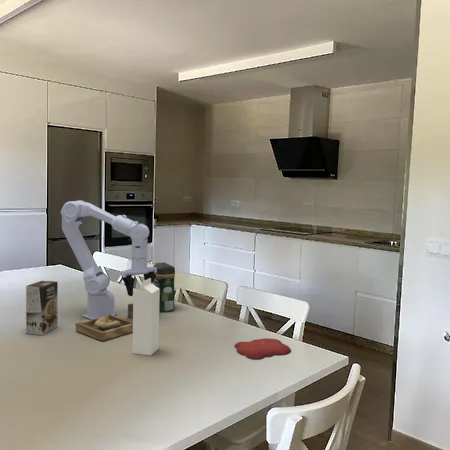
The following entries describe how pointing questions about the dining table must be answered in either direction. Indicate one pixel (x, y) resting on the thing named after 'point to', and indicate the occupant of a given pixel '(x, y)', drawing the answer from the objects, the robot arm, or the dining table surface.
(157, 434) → the dining table surface
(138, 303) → the milk
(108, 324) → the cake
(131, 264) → the robot arm
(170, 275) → the coffee jar
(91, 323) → the pull frame
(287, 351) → the red lobed slab
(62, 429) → the dining table surface
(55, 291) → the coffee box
